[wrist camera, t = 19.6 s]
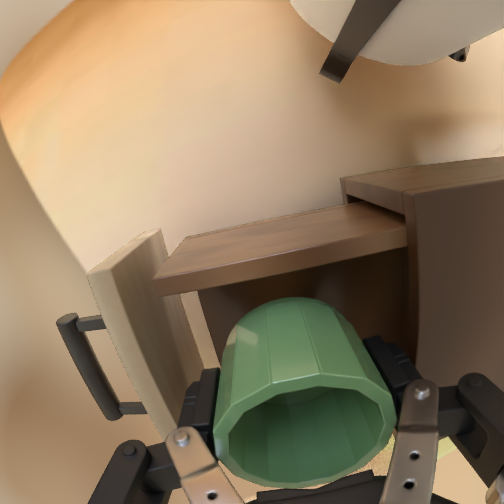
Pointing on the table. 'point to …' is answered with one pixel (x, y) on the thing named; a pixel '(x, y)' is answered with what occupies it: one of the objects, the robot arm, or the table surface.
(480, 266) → the cabinet
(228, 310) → the drawer
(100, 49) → the table surface
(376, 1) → the coffee press
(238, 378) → the pot
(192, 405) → the robot arm
